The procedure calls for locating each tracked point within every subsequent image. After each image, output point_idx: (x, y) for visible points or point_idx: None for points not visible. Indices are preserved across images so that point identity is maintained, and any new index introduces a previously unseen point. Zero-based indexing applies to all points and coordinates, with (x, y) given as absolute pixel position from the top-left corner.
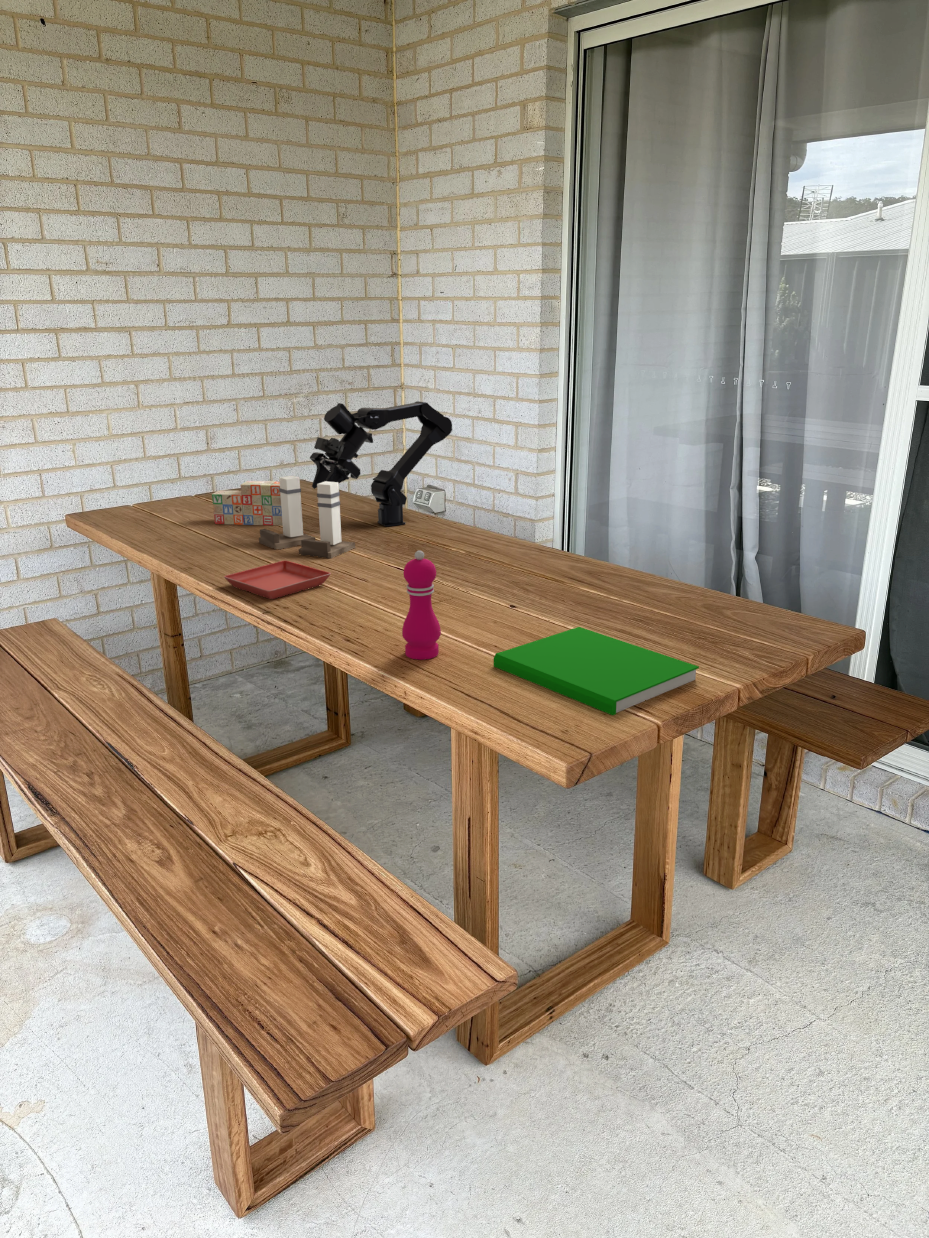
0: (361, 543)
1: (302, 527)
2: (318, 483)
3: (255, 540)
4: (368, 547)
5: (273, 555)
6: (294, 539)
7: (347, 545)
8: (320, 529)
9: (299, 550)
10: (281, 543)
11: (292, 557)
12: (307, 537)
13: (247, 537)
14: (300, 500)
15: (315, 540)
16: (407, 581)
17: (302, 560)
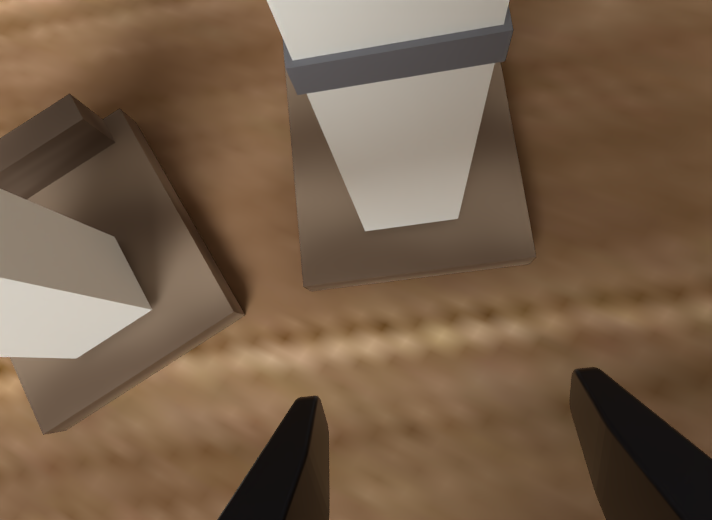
0: (130, 517)
1: (358, 214)
2: (610, 499)
3: (562, 28)
4: (28, 502)
5: (203, 20)
6: (328, 163)
7: (15, 361)
8: (54, 216)
9: (119, 115)
10: (285, 73)
11: (114, 82)
12: (328, 245)
13: (663, 10)
14: (324, 129)
15: (12, 159)
16: None
17: (38, 102)
